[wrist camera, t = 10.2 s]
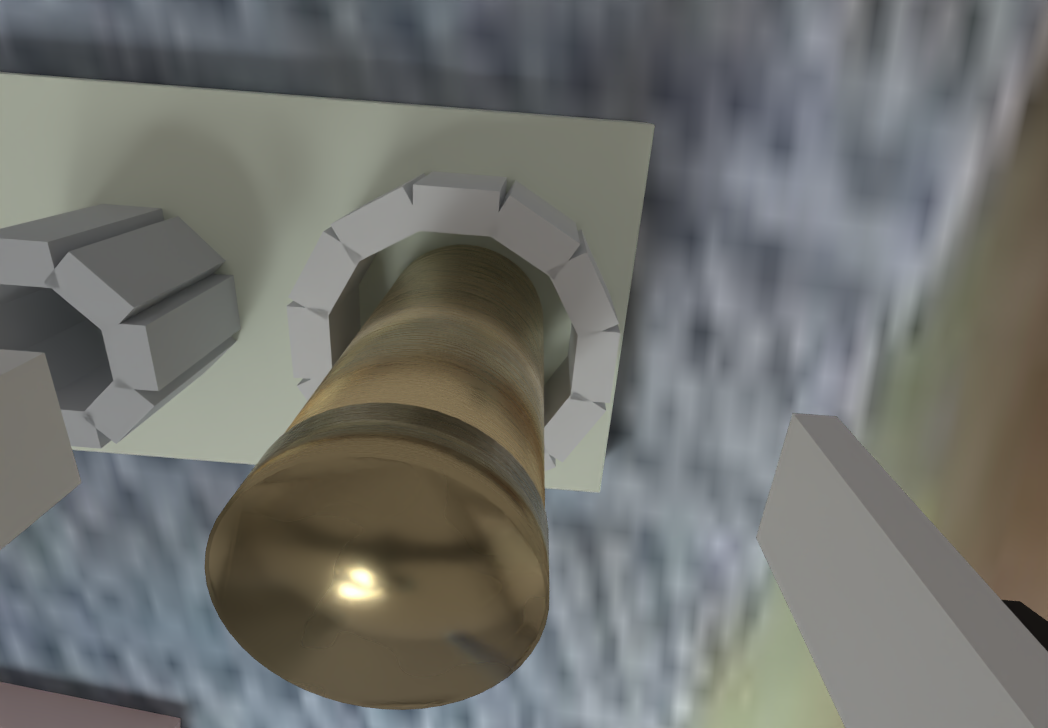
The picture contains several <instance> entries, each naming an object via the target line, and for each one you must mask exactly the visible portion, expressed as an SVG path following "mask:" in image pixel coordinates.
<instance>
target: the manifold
mask: <svg viewBox="0 0 1048 728" xmlns="http://www.w3.org/2000/svg"><path fill="white" fill-rule="evenodd" d="M654 128H655V125H653V124H650V123H646V122H635V121H622V120H609V119H596V118H584V117H571V116H558V115H545V114H532V113H520V112H507V111H494V110H481V109H468V108H456V107H443V106H430V105H417V104H404V103H392V102H379V101H366V100H353V99H341V98H328V97H315V96H302V95H289V94H277V93H264V92H251V91H238V90H225V89H213V88H200V87H187V86H174V85H161V84H149V83H136V82H123V81H110V80H97V79H85V78H72V77H59V76H46V75H33V74H21V73H8V72H0V350H1V349H4V350H17V351H29V352H41V353H45V356H46V360H47V363H48V367H49V370H50V374H51V377H52V381H53V384H54V388H55V391H56V395H57V398H58V402H59V405H60V409H61V412H62V416H63V420H64V423H65V427H66V430H67V434H68V437H69V441H70V444H71V448H72V450H81V451H93V452H105V453H118V454H130V455H142V456H155V457H167V458H179V459H192V460H204V461H216V462H228V463H241V464H253V465H256V464H257V463H258V462H259V460H260V459H261V458H262V456H263V455H264V454H265V452H266V451H267V450H268V448H269V447H270V446H271V445H272V444H273V443H274V442H275V441H276V440H277V439H278V438H279V437H280V436H281V435H283V434H284V433H285V431H286V430H287V429H288V427H289V426H290V425H291V423H292V422H293V420H294V419H295V418H296V416H297V415H298V414H299V412H300V411H301V410H302V408H303V407H304V405H305V404H306V403H307V401H308V400H309V399H310V397H311V396H312V395H313V393H314V392H315V391H316V389H317V388H318V386H319V385H320V384H321V382H322V381H323V380H324V378H325V377H326V376H327V374H328V373H329V371H330V370H331V369H332V367H333V366H334V365H335V363H336V362H337V361H338V359H339V358H340V356H341V355H342V354H343V352H344V351H345V350H346V348H347V347H348V346H349V344H350V343H351V341H352V340H353V339H354V337H355V336H356V335H357V333H358V332H359V331H360V329H361V328H362V326H363V325H364V324H365V322H366V321H367V320H368V318H369V317H370V316H371V314H372V313H373V311H374V310H375V309H376V307H377V306H378V305H379V303H380V302H381V301H382V299H383V298H384V297H385V295H386V294H387V292H388V291H389V290H390V288H391V287H392V286H393V284H394V283H395V282H396V280H397V279H398V277H399V276H400V275H401V273H402V272H403V271H404V270H405V269H406V268H407V267H408V265H409V264H411V263H412V262H413V261H414V260H416V259H417V258H418V257H420V256H422V255H423V254H425V253H427V252H429V251H432V250H434V249H437V248H441V247H444V246H450V245H473V246H479V247H483V248H487V249H490V250H492V251H495V252H497V253H499V254H501V255H503V256H505V257H506V258H508V259H509V260H511V261H512V262H513V263H515V264H516V265H517V266H518V267H519V268H520V269H521V270H522V271H523V272H524V273H525V274H526V275H527V277H528V278H529V279H530V280H531V282H532V284H533V286H534V287H535V289H536V291H537V294H538V296H539V298H540V302H541V306H542V311H543V341H544V469H545V488H549V489H561V490H573V491H586V492H598V493H600V487H601V481H602V474H603V467H604V461H605V454H606V447H607V441H608V434H609V427H610V421H611V414H612V407H613V401H614V394H615V387H616V381H617V374H618V367H619V361H620V354H621V347H622V341H623V334H624V327H625V321H626V314H627V307H628V301H629V294H630V287H631V281H632V274H633V267H634V261H635V254H636V247H637V241H638V234H639V228H640V221H641V214H642V208H643V201H644V194H645V188H646V181H647V174H648V168H649V161H650V154H651V148H652V141H653V134H654Z"/></svg>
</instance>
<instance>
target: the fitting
mask: <svg viewBox="0 0 1048 728" xmlns="http://www.w3.org/2000/svg"><path fill="white" fill-rule="evenodd" d="M205 574H206V582H207V587H208V590H209V594H210V597H211V600H212V603H213V605H214V607H215V609H216V611H217V613H218V615H219V617H220V619H221V620H222V622H223V623H224V625H225V627H226V628H227V630H228V631H229V633H230V634H231V635H232V636H233V637H234V638H235V640H236V641H237V642H238V643H239V644H240V645H241V647H243V648H244V649H245V650H246V651H247V652H248V653H249V654H250V655H251V656H252V657H253V658H254V659H255V660H257V661H258V662H259V663H261V664H262V665H263V666H265V667H266V668H267V669H269V670H270V671H272V672H273V673H275V674H276V675H278V676H280V677H281V678H283V679H285V680H286V681H288V682H290V683H292V684H294V685H296V686H298V687H300V688H302V689H304V690H307V691H309V692H312V693H315V694H317V695H320V696H322V697H325V698H329V699H332V700H336V701H339V702H343V703H347V704H352V705H357V706H362V707H370V708H379V709H400V710H405V709H422V708H429V707H436V706H442V705H446V704H450V703H454V702H458V701H461V700H464V699H467V698H469V697H472V696H475V695H478V694H480V693H482V692H484V691H486V690H488V689H490V688H492V687H494V686H495V685H497V684H498V683H500V682H501V681H503V680H504V679H506V678H507V677H508V676H510V675H511V674H512V673H513V672H514V671H515V670H516V669H518V668H519V667H520V666H521V665H522V664H523V662H524V661H525V660H526V659H527V658H528V657H529V655H530V654H531V653H532V651H533V650H534V648H535V646H536V645H537V643H538V641H539V640H540V637H541V635H542V632H543V630H544V627H545V625H546V620H547V615H548V611H549V539H548V524H547V517H546V512H545V469H544V341H543V311H542V306H541V302H540V298H539V296H538V294H537V291H536V289H535V287H534V286H533V284H532V282H531V280H530V279H529V278H528V277H527V275H526V274H525V273H524V272H523V271H522V270H521V269H520V268H519V267H518V266H517V265H516V264H515V263H513V262H512V261H511V260H509V259H508V258H506V257H505V256H503V255H501V254H499V253H497V252H495V251H492V250H490V249H487V248H483V247H479V246H473V245H450V246H444V247H441V248H437V249H434V250H432V251H429V252H427V253H425V254H423V255H422V256H420V257H418V258H417V259H416V260H414V261H413V262H412V263H411V264H409V265H408V267H407V268H406V269H405V270H404V271H403V272H402V273H401V275H400V276H399V277H398V279H397V280H396V282H395V283H394V284H393V286H392V287H391V288H390V290H389V291H388V292H387V294H386V295H385V297H384V298H383V299H382V301H381V302H380V303H379V305H378V306H377V307H376V309H375V310H374V311H373V313H372V314H371V316H370V317H369V318H368V320H367V321H366V322H365V324H364V325H363V326H362V328H361V329H360V331H359V332H358V333H357V335H356V336H355V337H354V339H353V340H352V341H351V343H350V344H349V346H348V347H347V348H346V350H345V351H344V352H343V354H342V355H341V356H340V358H339V359H338V361H337V362H336V363H335V365H334V366H333V367H332V369H331V370H330V371H329V373H328V374H327V376H326V377H325V378H324V380H323V381H322V382H321V384H320V385H319V386H318V388H317V389H316V391H315V392H314V393H313V395H312V396H311V397H310V399H309V400H308V401H307V403H306V404H305V405H304V407H303V408H302V410H301V411H300V412H299V414H298V415H297V416H296V418H295V419H294V420H293V422H292V423H291V425H290V426H289V427H288V429H287V430H286V431H285V433H284V434H283V435H281V436H280V437H279V438H278V439H277V440H276V441H275V442H274V443H273V444H272V445H271V446H270V447H269V448H268V450H267V451H266V452H265V454H264V455H263V456H262V458H261V459H260V460H259V462H258V463H257V464H256V466H255V467H254V468H253V470H252V471H251V472H250V474H249V475H248V476H247V478H246V479H245V480H244V482H243V483H242V484H241V486H240V487H239V488H238V490H237V491H236V493H235V494H234V495H233V497H232V498H231V499H230V501H229V502H228V503H227V505H226V506H225V508H224V509H223V510H222V512H221V513H220V515H219V516H218V518H217V519H216V521H215V524H214V526H213V528H212V530H211V533H210V535H209V539H208V543H207V547H206V553H205Z"/></svg>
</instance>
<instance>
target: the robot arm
mask: <svg viewBox="0 0 1048 728" xmlns="http://www.w3.org/2000/svg"><path fill="white" fill-rule="evenodd" d="M79 484H81V479H80V476H79V472H78V469H77V465H76V462H75V458H74V455H73V451H72V448H71V444H70V441H69V437H68V434H67V430H66V427H65V423H64V420H63V416H62V412H61V409H60V405H59V402H58V398H57V395H56V391H55V388H54V384H53V381H52V377H51V374H50V370H49V367H48V363H47V360H46V356H45V353H41V352H29V351H17V350H4V349H1V350H0V550H1V549H2V548H3V547H5V546H6V545H7V544H8V543H10V542H11V541H12V540H13V539H14V538H16V537H17V536H18V535H19V534H20V533H22V532H23V531H24V530H25V529H26V528H28V527H29V526H30V525H31V524H32V523H34V522H35V521H36V520H37V519H38V518H40V517H41V516H42V515H43V514H44V513H46V512H47V511H48V510H49V509H50V508H52V507H53V506H54V505H55V504H56V503H58V502H59V501H60V500H61V499H63V498H64V497H65V496H66V495H67V494H69V493H70V492H71V491H72V490H73V489H75V488H76V487H77V486H78V485H79ZM756 538H757V541H758V543H759V545H760V547H761V549H762V551H763V553H764V556H765V558H766V560H767V562H768V564H769V566H770V568H771V570H772V573H773V575H774V577H775V579H776V581H777V583H778V585H779V588H780V590H781V592H782V594H783V596H784V598H785V600H786V602H787V605H788V607H789V609H790V611H791V613H792V615H793V617H794V619H795V622H796V624H797V626H798V628H799V630H800V632H801V634H802V637H803V639H804V641H805V643H806V645H807V647H808V649H809V651H810V654H811V656H812V658H813V660H814V662H815V664H816V666H817V669H818V671H819V673H820V675H821V677H822V679H823V681H824V683H825V686H826V688H827V690H828V692H829V694H830V696H831V698H832V700H833V703H834V705H835V707H836V709H837V711H838V713H839V715H840V718H841V720H842V722H843V724H844V726H845V728H1048V621H1046V620H1045V619H1044V618H1042V617H1041V616H1039V615H1038V614H1037V613H1035V612H1034V611H1032V610H1031V609H1030V608H1028V607H1027V606H1026V605H1024V604H1023V603H1021V602H1020V601H1008V600H1001V599H1000V598H999V597H998V596H997V595H996V594H995V592H994V591H993V590H992V589H991V588H990V587H989V586H988V585H987V584H986V582H985V581H984V580H983V579H982V578H981V577H980V576H979V575H978V574H977V572H976V571H975V570H974V569H973V568H972V567H971V566H970V565H969V563H968V562H967V561H966V560H965V559H964V558H963V557H962V556H961V555H960V553H959V552H958V551H957V550H956V549H955V548H954V547H953V546H952V545H951V543H950V542H949V541H948V540H947V539H946V538H945V537H944V536H943V534H942V533H941V532H940V531H939V530H938V529H937V528H936V527H935V526H934V524H933V523H932V522H931V521H930V520H929V519H928V518H927V517H926V516H925V514H924V513H923V512H922V511H921V510H920V509H919V508H918V507H917V505H916V504H915V503H914V502H913V501H912V500H911V499H910V498H909V497H908V495H907V494H906V493H905V492H904V491H903V490H902V489H901V488H900V487H899V485H898V484H897V483H896V482H895V481H894V480H893V479H892V478H891V476H890V475H889V474H888V473H887V472H886V471H885V470H884V469H883V468H882V466H881V465H880V464H879V463H878V462H877V461H876V460H875V459H874V458H873V456H872V455H871V454H870V453H869V452H868V451H867V450H866V449H865V448H864V446H863V445H862V444H861V443H860V442H859V441H858V440H857V439H856V437H855V436H854V435H853V434H852V433H851V432H850V431H849V430H848V429H847V427H846V426H845V425H844V424H843V423H842V422H841V421H840V420H839V419H838V417H837V416H825V415H812V414H800V413H793V414H792V417H791V420H790V424H789V427H788V431H787V434H786V438H785V441H784V444H783V448H782V451H781V455H780V458H779V461H778V465H777V468H776V472H775V475H774V478H773V482H772V485H771V489H770V492H769V496H768V499H767V502H766V506H765V509H764V513H763V516H762V519H761V523H760V526H759V530H758V533H757V536H756Z"/></svg>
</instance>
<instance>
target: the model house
mask: <svg viewBox="0 0 1048 728" xmlns="http://www.w3.org/2000/svg"><path fill="white" fill-rule="evenodd" d="M180 722H181V718H177V717H172V716H167V715H162V714H157V713H152V712H147V711H142V710H137V709H132V708H127V707H122V706H117V705H113V704H108V703H103V702H98V701H93V700H88V699H83V698H78V697H73V696H68V695H63V694H58V693H53V692H48V691H43V690H38V689H33V688H28V687H23V686H18V685H14V684H9V683H4V682H0V728H180Z"/></svg>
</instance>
